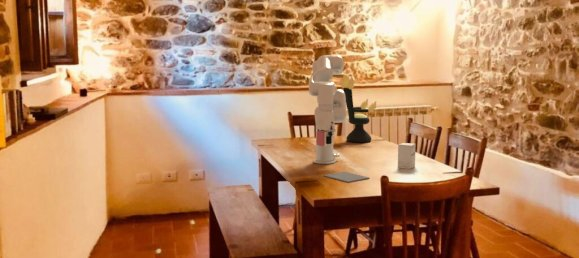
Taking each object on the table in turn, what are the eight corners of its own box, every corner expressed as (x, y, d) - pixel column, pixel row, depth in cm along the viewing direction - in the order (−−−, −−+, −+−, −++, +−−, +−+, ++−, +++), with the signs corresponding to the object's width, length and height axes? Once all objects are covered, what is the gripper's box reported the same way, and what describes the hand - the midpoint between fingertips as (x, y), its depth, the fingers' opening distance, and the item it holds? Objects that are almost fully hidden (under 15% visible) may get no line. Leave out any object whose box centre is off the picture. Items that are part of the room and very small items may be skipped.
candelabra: (376, 142, 407) (377, 74, 401) (344, 144, 402) (345, 75, 396) (366, 138, 425) (367, 73, 419) (336, 139, 420) (336, 73, 414)
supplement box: (410, 169, 323) (411, 145, 321) (397, 167, 326) (397, 144, 325) (415, 166, 329) (416, 143, 327) (402, 165, 333) (402, 142, 331)
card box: (328, 143, 319) (328, 129, 318) (334, 144, 315) (334, 130, 314) (316, 144, 314) (316, 131, 313) (322, 146, 310) (322, 132, 309)
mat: (344, 172, 315) (344, 171, 315) (369, 178, 300) (369, 177, 300) (323, 176, 306) (323, 175, 306) (348, 182, 292) (348, 181, 292)
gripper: (309, 106, 316) (309, 141, 319) (330, 110, 303) (330, 146, 306) (320, 105, 321) (320, 140, 323) (342, 108, 307) (342, 144, 310)
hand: (325, 142), depth 315 cm, fingers closed on card box, 4 cm apart
